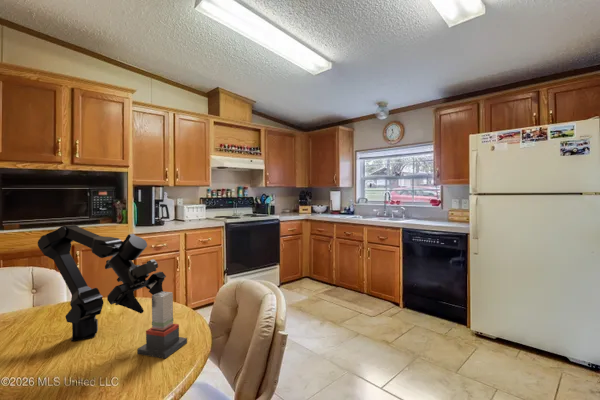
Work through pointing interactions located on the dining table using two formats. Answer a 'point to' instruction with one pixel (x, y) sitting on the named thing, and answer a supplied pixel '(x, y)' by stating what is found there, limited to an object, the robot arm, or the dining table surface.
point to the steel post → (162, 311)
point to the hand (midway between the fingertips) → (154, 307)
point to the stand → (162, 342)
